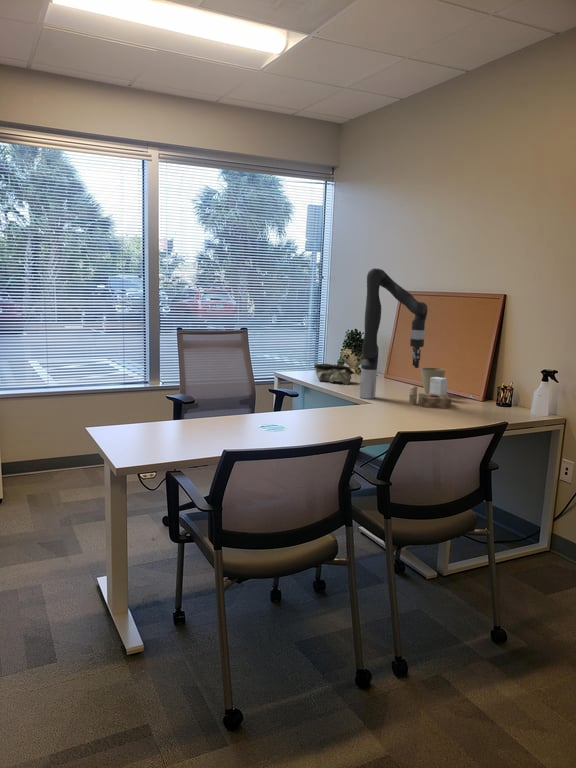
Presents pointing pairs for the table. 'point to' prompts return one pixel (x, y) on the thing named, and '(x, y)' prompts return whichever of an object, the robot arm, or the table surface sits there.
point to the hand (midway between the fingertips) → (415, 366)
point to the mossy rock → (333, 373)
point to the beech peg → (413, 395)
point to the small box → (438, 385)
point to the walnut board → (434, 400)
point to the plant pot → (429, 373)
